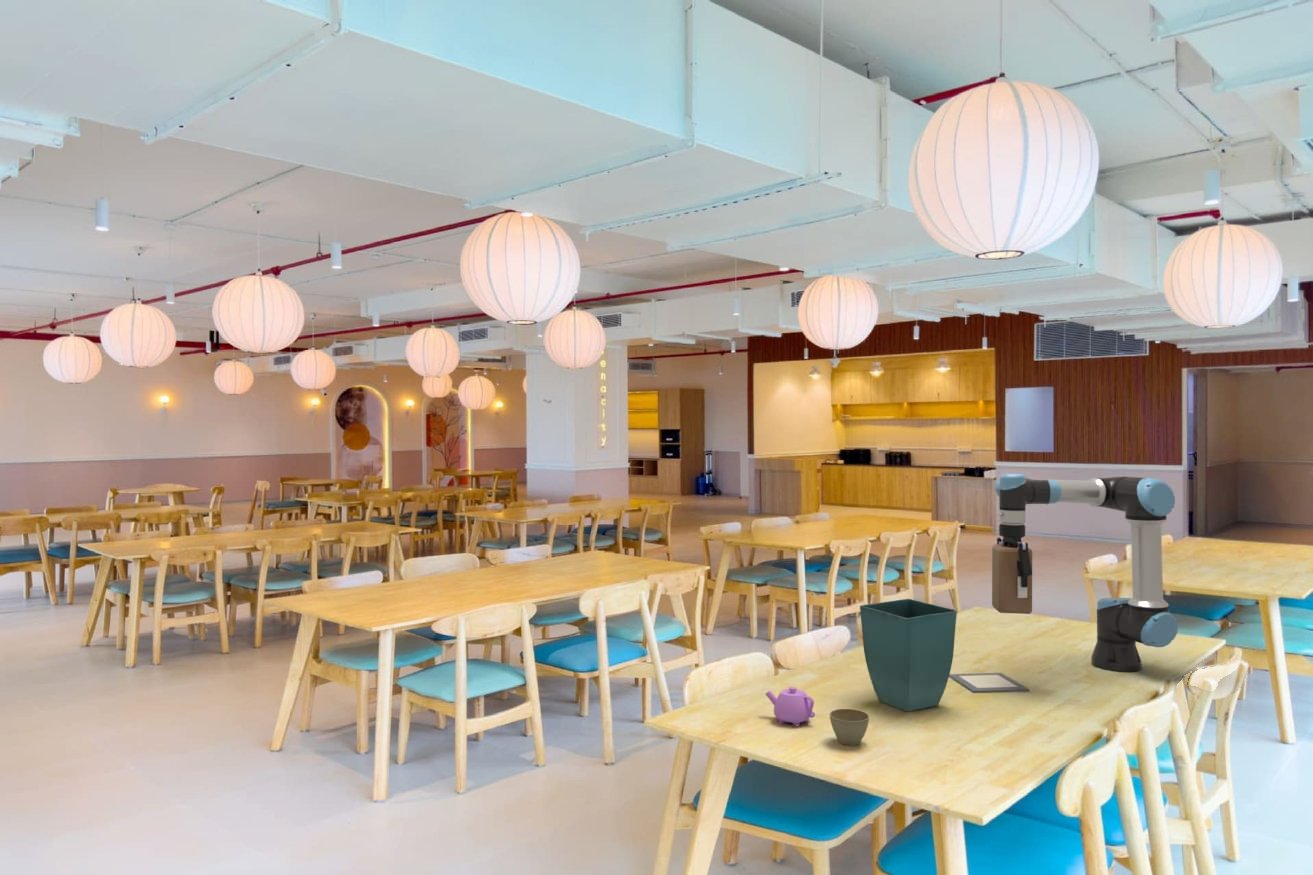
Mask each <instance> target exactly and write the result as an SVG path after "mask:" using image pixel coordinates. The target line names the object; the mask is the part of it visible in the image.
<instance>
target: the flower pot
mask: <svg viewBox="0 0 1313 875" xmlns="http://www.w3.org/2000/svg"><path fill="white" fill-rule="evenodd" d="M859 611H860V620H861V621H860V622H861V633H862V634H861V635H862V644H863V653H864V659H865V663H866V667H867V671H868V675H869V678H870V680H871V684H872V687H873V690H874V692H875V696H876V698H877V700H878V701H879V702H882V703H885V704H887V705H890V706H892V707H895V708H897V709H899V710H902V711H905V712H912V711H918V710H922V709H927V708H932V707H936V706H939V705H940V703H941V700H942V698H943V696H944V694H945V690H946V687H947V684H948V681H949V678H950V677H949V674H951V668H952V664H953V661H954V660H953V659H954V648H955V637H956V624H957V615H958V614H957V613H958V612H957V610H955V609H953V608H952V609H951V608H947V607H945V606H941V605H937V604H932V603H927V602H923V601H920V600H915V599H911V598H905V599H904V598H903V599H897V600H889V601H883V602H876V603H875V602H874V603H869V604H868V603H867V604H863V605H862V604H861V605H859Z"/></svg>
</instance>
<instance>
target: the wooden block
mask: <svg viewBox="0 0 1313 875" xmlns="http://www.w3.org/2000/svg"><path fill="white" fill-rule="evenodd" d="M991 548H992V551H991V552H992V553H991V554H992V555H991V556H992V559H991V568H992V569H991V571H992V572H991V574H992V575H991V577H992V578H991V585H992V586H991V588H992V589H991V605H992V607H993V608H994V609H995V610H996V611H997V612H998V613H1001V614H1017V615H1018V614H1021V615H1023V614H1025V615H1029V614H1031V613H1032V612H1033V574H1032V575H1030V576H1028V579H1027V598H1018V576H1017V575H1018V574H1019V572H1018V569H1017V561H1020V557H1019V551H1018V548H1013V547H1008V546H1003V545H1001V544H997V543H996V544H993V545H992V547H991ZM1028 553H1029V558H1030V564H1031V569H1032V570H1033V550H1032V548H1030V547H1028Z"/></svg>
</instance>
